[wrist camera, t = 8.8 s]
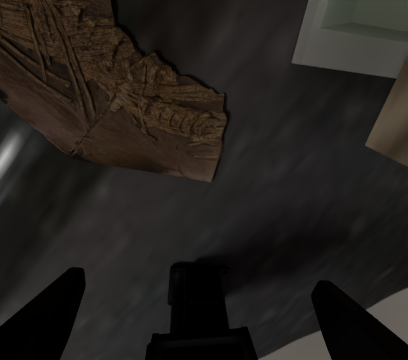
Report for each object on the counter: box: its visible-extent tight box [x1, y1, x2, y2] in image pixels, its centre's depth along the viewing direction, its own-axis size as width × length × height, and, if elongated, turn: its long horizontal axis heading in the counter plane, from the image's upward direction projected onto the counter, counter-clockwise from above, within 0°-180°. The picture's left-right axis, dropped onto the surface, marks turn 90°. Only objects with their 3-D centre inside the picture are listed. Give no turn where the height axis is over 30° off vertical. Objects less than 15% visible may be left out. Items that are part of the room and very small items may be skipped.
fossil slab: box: [0, 0, 227, 182], centre depth 15 cm, size 26×11×1 cm, turn 51°
